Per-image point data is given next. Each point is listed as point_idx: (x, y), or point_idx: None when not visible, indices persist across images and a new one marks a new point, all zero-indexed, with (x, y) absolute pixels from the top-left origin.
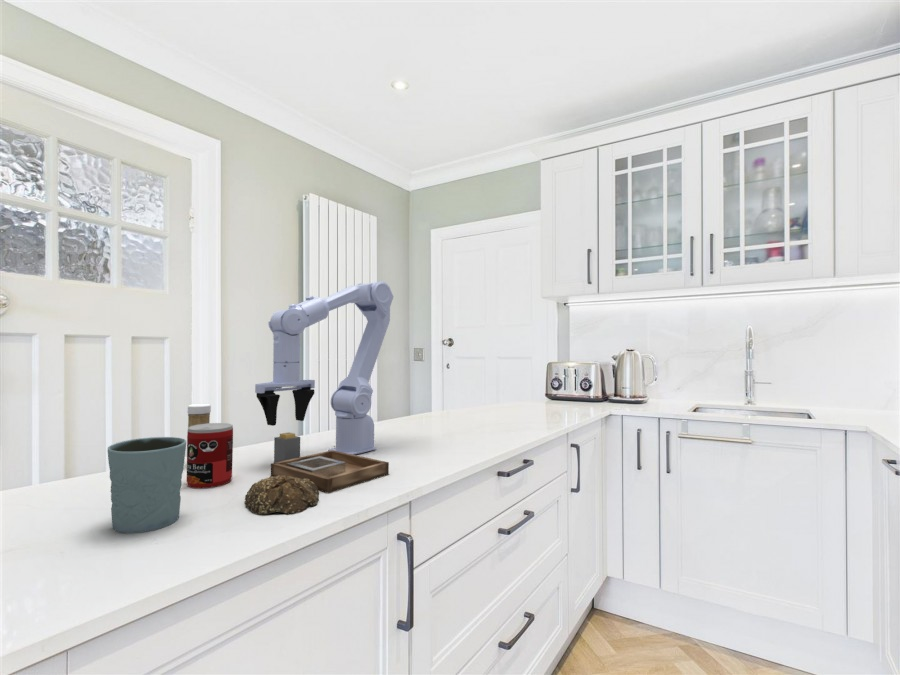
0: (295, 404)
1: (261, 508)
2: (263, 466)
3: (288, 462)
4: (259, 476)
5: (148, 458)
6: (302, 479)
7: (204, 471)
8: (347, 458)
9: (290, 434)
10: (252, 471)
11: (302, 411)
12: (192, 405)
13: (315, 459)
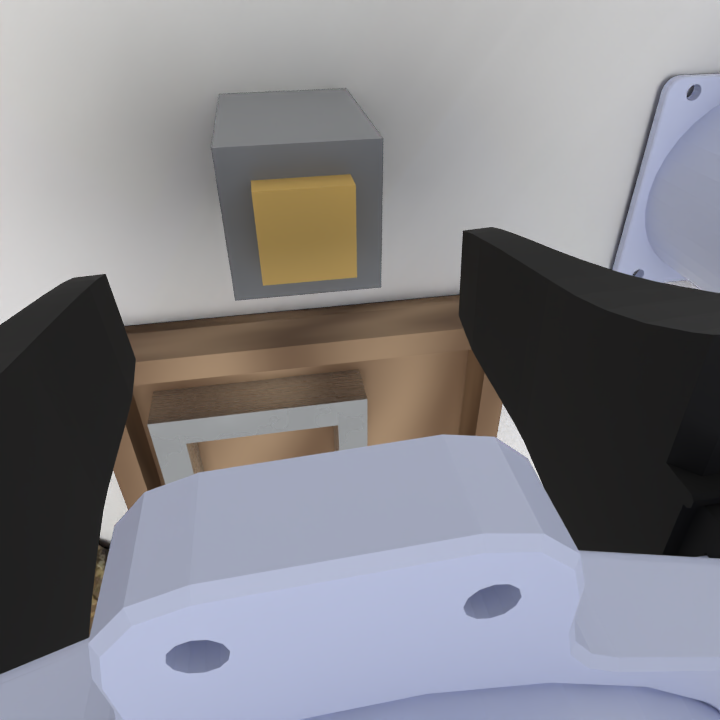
0: (554, 290)
1: None
2: (131, 100)
3: (185, 375)
4: (33, 298)
5: None
6: (89, 635)
7: None
8: (468, 434)
9: (308, 281)
10: (23, 169)
11: (496, 378)
12: None
13: (314, 425)
